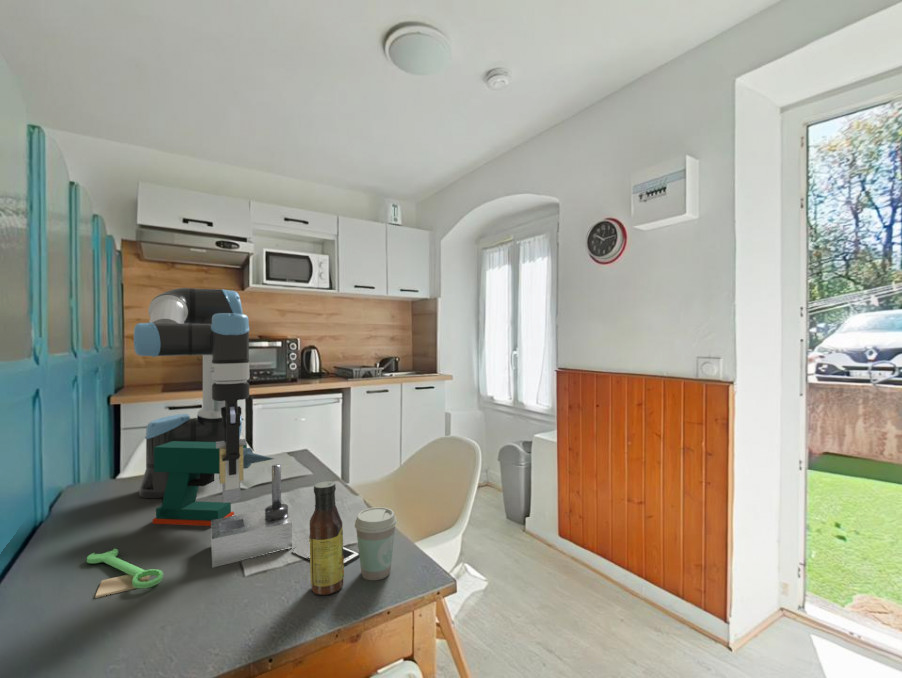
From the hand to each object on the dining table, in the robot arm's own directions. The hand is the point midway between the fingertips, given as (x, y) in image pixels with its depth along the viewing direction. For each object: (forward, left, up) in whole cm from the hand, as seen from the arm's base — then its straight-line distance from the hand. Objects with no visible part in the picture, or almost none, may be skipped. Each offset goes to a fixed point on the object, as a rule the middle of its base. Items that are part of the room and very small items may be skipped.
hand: (231, 484), depth 97 cm
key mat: (+3, -19, -15) cm, 24 cm away
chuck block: (0, +4, -15) cm, 16 cm away
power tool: (-21, -2, -15) cm, 26 cm away
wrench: (-2, -20, -15) cm, 25 cm away
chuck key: (0, 0, -3) cm, 3 cm away
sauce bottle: (+25, +15, -15) cm, 33 cm away
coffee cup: (+25, +25, -15) cm, 38 cm away
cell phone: (+12, +18, -16) cm, 27 cm away
